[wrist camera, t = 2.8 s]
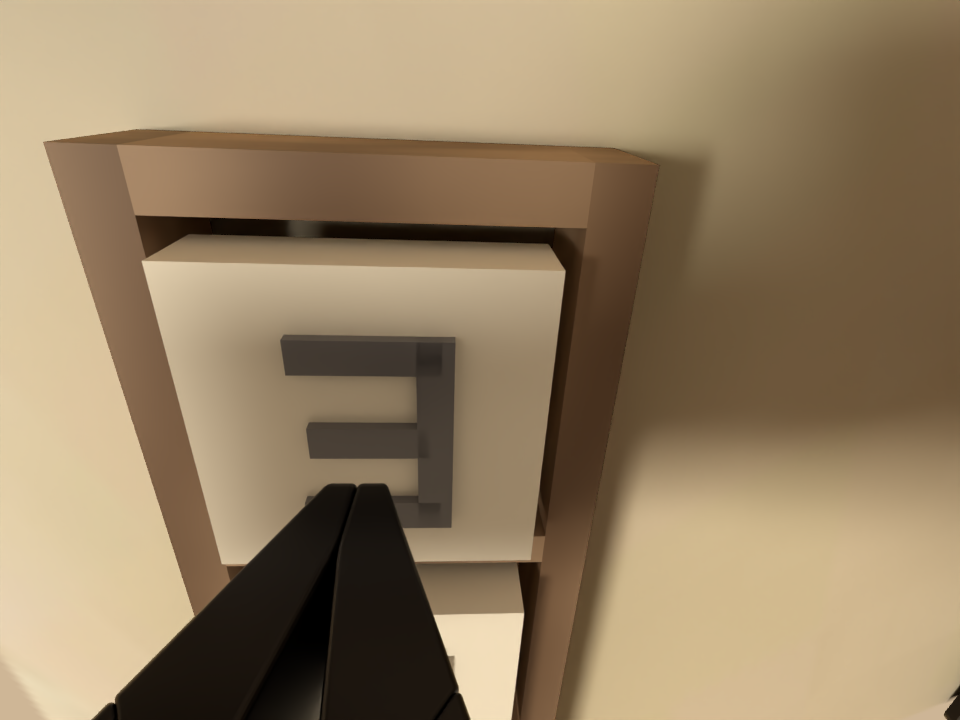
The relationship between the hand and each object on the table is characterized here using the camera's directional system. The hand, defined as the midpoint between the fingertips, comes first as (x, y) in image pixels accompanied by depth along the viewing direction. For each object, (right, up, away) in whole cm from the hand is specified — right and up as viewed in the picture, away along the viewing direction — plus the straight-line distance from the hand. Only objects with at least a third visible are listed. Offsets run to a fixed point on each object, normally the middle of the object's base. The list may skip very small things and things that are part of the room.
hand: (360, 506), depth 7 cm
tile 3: (0, +1, +3) cm, 3 cm away
